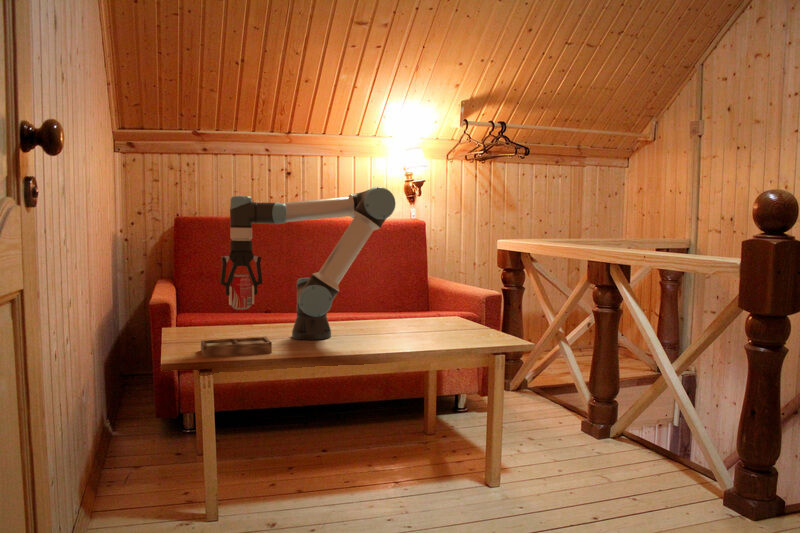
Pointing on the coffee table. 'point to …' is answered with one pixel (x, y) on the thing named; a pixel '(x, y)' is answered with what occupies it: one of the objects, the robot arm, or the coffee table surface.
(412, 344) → the coffee table surface
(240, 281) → the soda can
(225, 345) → the wooden tray
